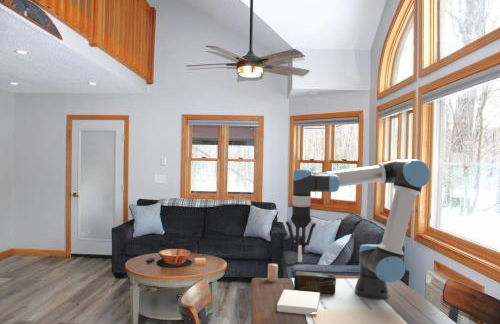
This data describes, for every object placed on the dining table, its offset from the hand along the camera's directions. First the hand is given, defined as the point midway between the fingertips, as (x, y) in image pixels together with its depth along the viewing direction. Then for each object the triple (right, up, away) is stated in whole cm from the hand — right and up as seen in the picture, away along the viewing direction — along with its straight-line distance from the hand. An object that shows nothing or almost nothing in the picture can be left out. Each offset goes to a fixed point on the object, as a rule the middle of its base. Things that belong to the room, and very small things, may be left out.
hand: (299, 261), depth 175 cm
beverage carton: (+1, -20, +22) cm, 29 cm away
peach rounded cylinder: (-10, -18, +35) cm, 41 cm away
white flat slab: (0, -19, 0) cm, 19 cm away
